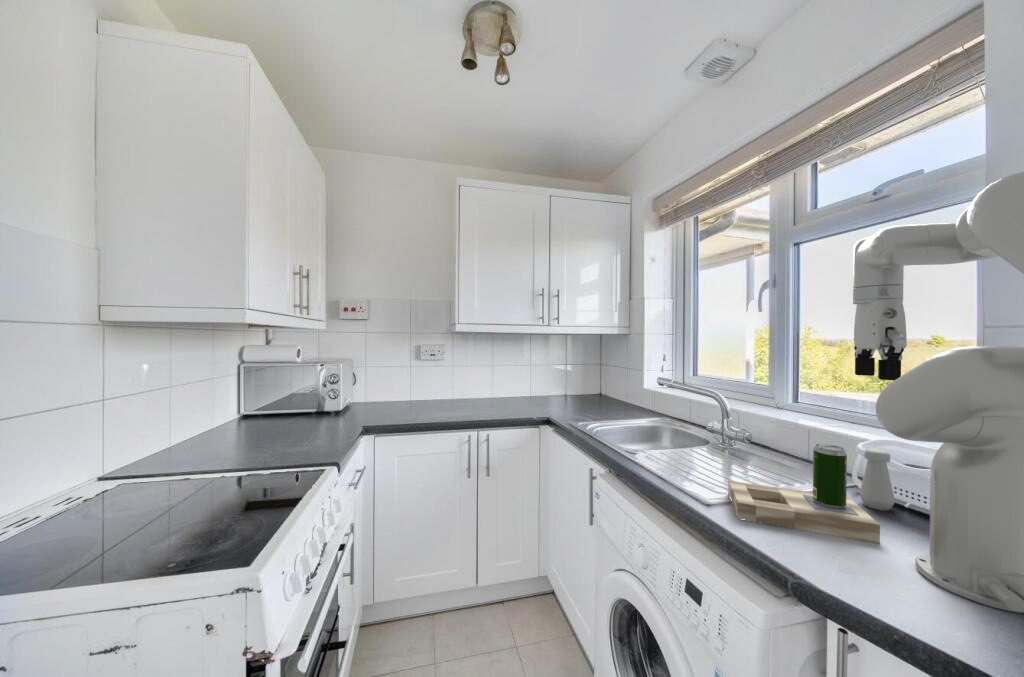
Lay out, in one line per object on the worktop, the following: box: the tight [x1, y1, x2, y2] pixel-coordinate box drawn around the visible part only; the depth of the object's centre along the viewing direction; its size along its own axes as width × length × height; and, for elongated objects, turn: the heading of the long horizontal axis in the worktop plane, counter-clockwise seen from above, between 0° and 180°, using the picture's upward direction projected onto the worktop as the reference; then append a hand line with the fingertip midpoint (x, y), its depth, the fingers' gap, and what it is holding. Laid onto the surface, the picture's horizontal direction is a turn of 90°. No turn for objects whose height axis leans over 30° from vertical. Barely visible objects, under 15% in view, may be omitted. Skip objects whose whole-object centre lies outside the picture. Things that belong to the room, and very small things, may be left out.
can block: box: [727, 480, 881, 544], centre depth 80 cm, size 13×23×4 cm, turn 67°
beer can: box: [812, 443, 848, 509], centre depth 77 cm, size 5×5×12 cm
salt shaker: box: [859, 448, 896, 512], centre depth 84 cm, size 6×6×13 cm
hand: (876, 377), depth 78 cm, fingers open, 9 cm apart
